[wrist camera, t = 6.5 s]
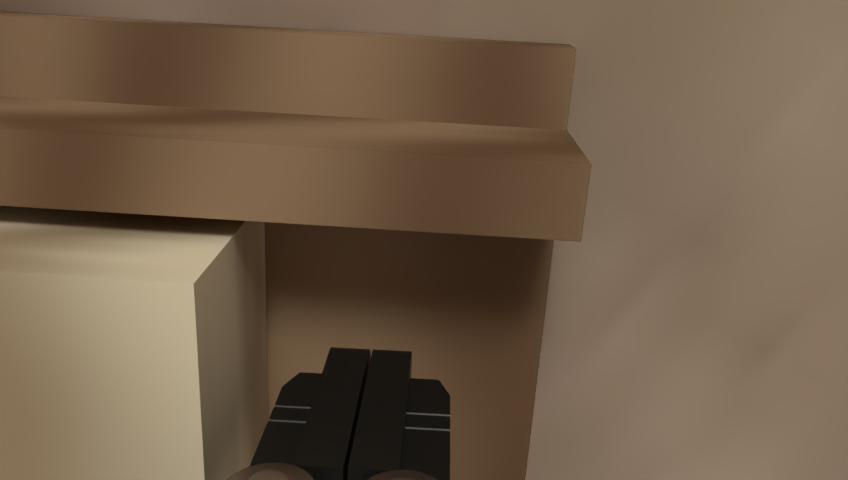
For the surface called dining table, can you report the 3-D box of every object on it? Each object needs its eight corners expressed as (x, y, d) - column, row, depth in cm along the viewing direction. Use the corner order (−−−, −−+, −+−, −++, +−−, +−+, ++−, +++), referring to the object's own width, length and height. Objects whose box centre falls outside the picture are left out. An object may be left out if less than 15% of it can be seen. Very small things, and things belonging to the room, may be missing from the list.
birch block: (263, 198, 14) (193, 283, 10) (269, 469, 16) (212, 624, 12) (-57, 178, 14) (-245, 256, 10) (-11, 450, 16) (-153, 598, 12)
